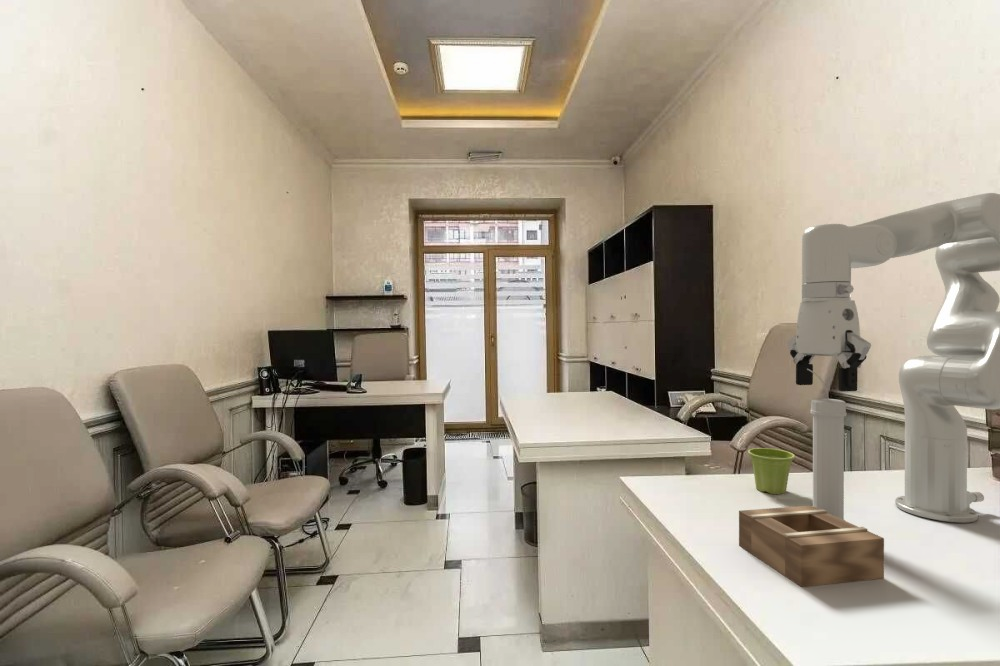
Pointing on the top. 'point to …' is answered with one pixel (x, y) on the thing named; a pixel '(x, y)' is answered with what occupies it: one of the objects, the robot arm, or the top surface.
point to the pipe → (828, 454)
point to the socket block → (811, 545)
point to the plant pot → (771, 469)
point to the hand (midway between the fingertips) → (824, 387)
